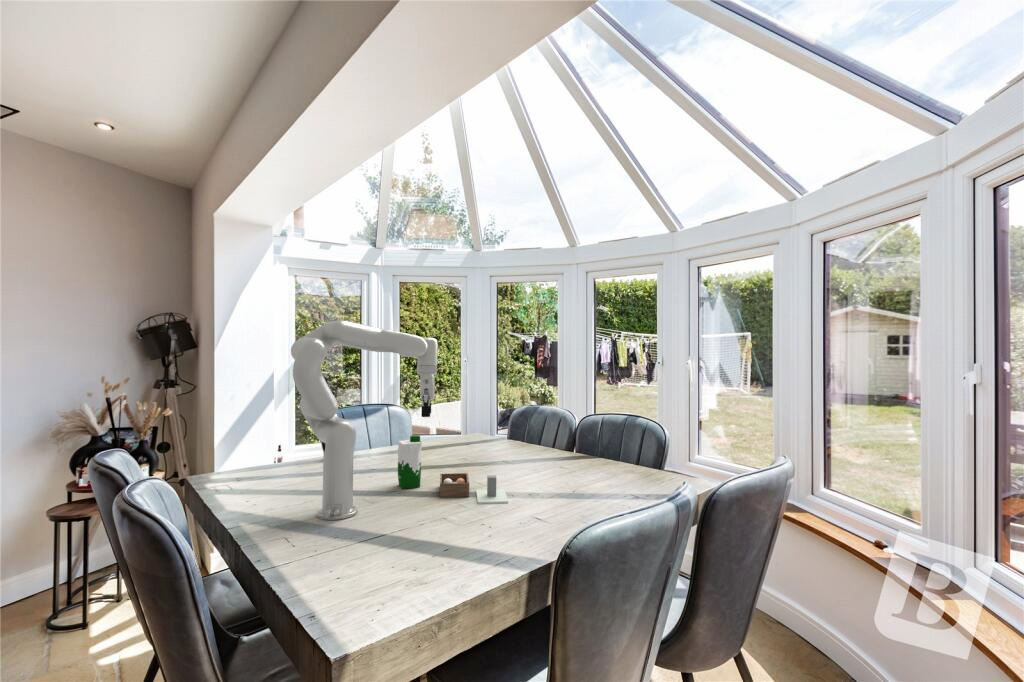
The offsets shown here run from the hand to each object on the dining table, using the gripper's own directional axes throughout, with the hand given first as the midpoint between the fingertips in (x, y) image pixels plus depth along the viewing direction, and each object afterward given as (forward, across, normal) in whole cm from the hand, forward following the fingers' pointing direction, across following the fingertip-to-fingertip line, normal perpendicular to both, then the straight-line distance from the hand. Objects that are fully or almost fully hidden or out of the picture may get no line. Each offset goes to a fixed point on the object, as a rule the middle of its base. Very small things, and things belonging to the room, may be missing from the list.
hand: (426, 415), depth 179 cm
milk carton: (+31, +13, +7) cm, 34 cm away
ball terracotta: (+28, +7, -14) cm, 32 cm away
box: (+30, +4, -11) cm, 32 cm away
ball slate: (+28, +2, -11) cm, 30 cm away
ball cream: (+28, +7, -8) cm, 30 cm away
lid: (+31, -5, -25) cm, 40 cm away
